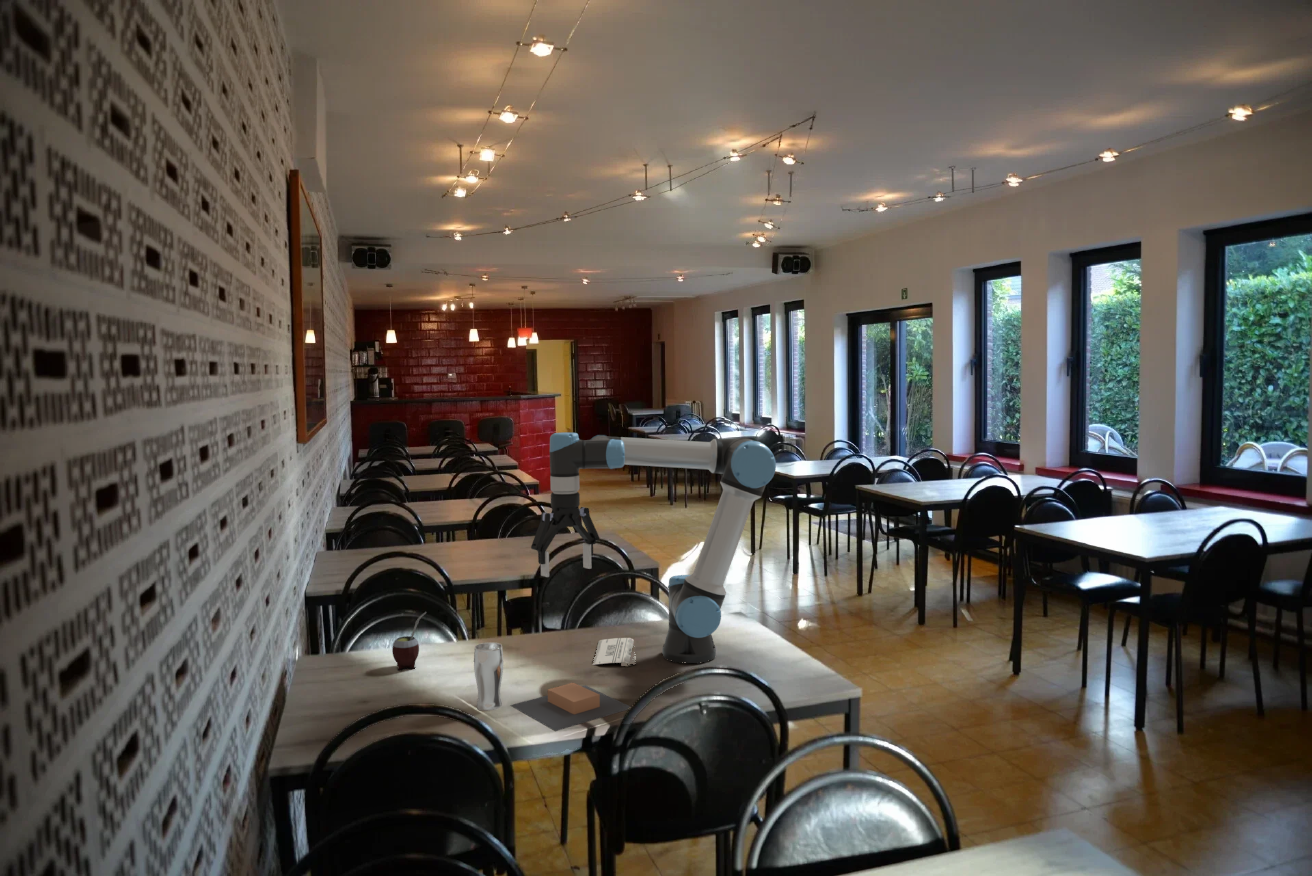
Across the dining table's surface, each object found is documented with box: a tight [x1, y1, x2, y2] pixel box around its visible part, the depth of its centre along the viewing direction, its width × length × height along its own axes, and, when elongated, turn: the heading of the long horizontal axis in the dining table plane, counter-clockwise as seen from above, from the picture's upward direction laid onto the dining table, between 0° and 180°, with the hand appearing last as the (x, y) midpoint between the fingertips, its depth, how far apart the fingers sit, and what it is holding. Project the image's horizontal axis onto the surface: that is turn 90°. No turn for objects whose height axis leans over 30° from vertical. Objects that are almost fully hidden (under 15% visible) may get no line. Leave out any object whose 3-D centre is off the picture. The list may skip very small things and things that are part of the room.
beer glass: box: [473, 641, 504, 712], centre depth 219 cm, size 7×7×15 cm
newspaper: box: [592, 637, 637, 667], centre depth 260 cm, size 23×12×2 cm, turn 178°
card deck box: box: [547, 682, 600, 714], centre depth 220 cm, size 8×3×11 cm
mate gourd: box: [391, 611, 427, 672], centre depth 248 cm, size 8×8×15 cm
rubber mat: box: [509, 684, 631, 732], centre depth 218 cm, size 22×20×1 cm
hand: (566, 572), depth 239 cm, fingers open, 13 cm apart
